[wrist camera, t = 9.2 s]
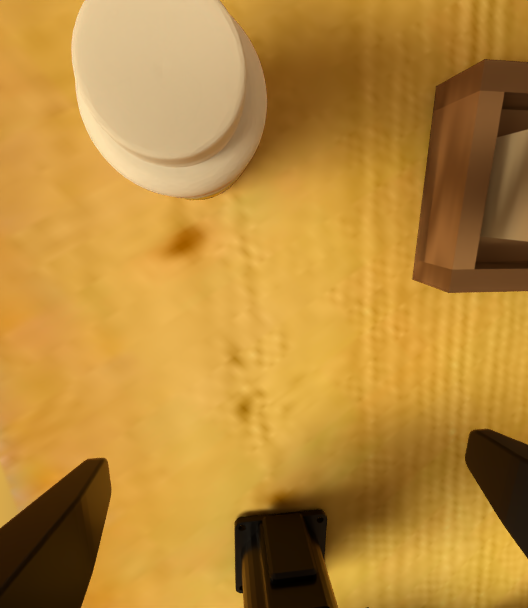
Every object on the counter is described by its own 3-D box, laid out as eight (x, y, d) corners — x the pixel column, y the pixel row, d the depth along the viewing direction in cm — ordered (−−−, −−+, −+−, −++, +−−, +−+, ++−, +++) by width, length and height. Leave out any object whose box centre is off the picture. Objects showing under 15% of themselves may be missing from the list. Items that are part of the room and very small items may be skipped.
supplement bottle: (128, 83, 17) (-1, -96, 7) (244, 81, 17) (277, -86, 7) (145, 204, 18) (58, 199, 8) (251, 198, 19) (285, 188, 9)
